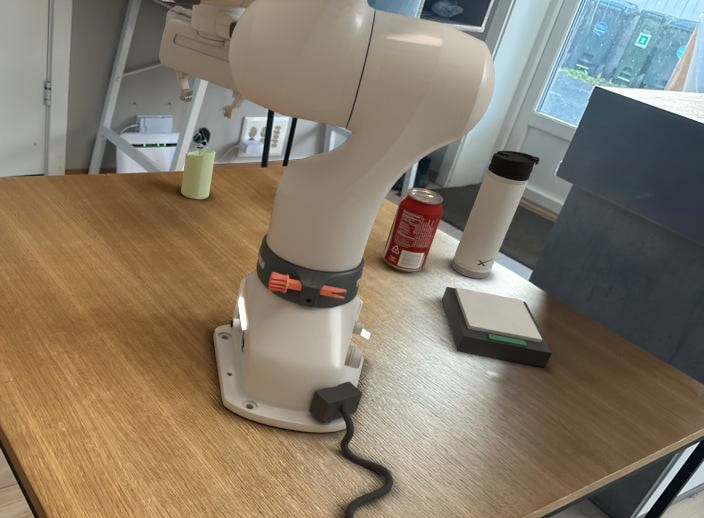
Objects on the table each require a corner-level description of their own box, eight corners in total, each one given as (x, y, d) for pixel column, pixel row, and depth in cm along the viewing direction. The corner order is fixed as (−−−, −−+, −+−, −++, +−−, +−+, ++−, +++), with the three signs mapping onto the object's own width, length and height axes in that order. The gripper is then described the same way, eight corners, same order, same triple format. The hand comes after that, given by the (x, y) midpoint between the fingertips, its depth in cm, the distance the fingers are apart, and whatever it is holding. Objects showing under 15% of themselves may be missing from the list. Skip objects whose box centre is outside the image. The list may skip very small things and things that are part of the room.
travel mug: (485, 283, 113) (535, 163, 102) (446, 268, 116) (491, 149, 104) (494, 271, 118) (543, 155, 107) (456, 257, 120) (501, 142, 109)
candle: (175, 192, 124) (180, 146, 119) (191, 186, 128) (197, 141, 123) (198, 202, 122) (204, 155, 117) (214, 195, 126) (221, 150, 121)
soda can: (423, 278, 111) (448, 207, 105) (380, 268, 112) (403, 197, 105) (421, 260, 117) (445, 192, 110) (381, 251, 117) (403, 182, 111)
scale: (544, 367, 95) (554, 349, 93) (457, 350, 95) (465, 332, 93) (519, 315, 106) (527, 298, 104) (441, 300, 106) (448, 282, 104)
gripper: (155, 3, 111) (147, 93, 119) (262, 36, 102) (245, 131, 110) (180, 1, 115) (171, 88, 123) (284, 34, 107) (267, 124, 115)
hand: (207, 109), depth 117 cm, fingers open, 8 cm apart
